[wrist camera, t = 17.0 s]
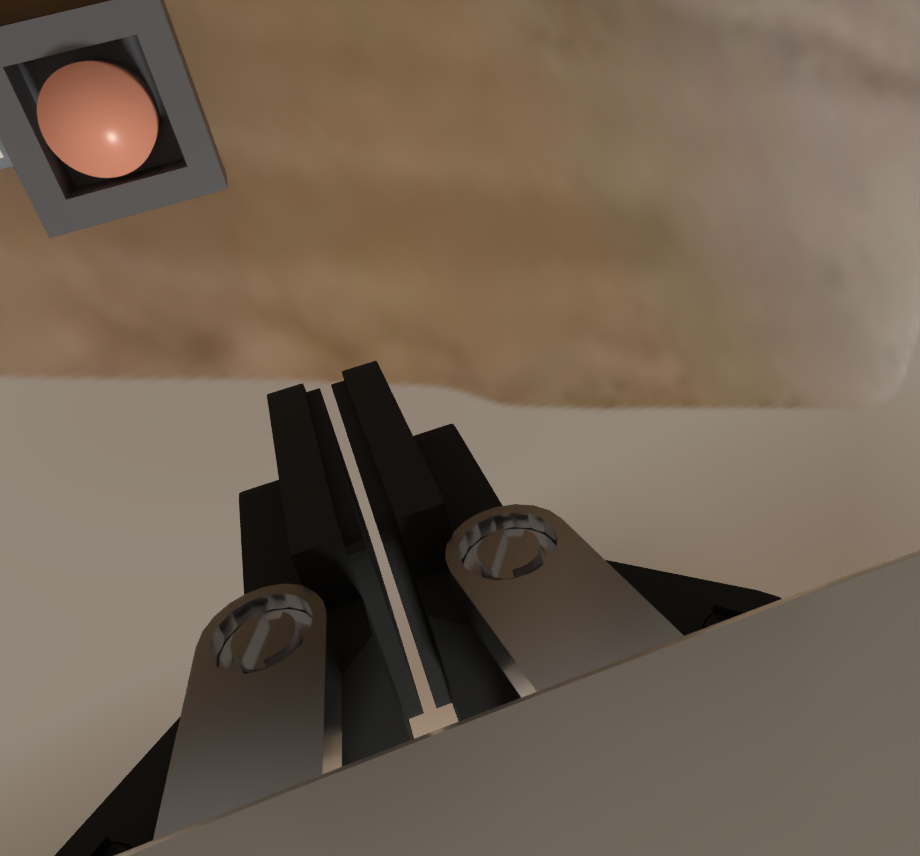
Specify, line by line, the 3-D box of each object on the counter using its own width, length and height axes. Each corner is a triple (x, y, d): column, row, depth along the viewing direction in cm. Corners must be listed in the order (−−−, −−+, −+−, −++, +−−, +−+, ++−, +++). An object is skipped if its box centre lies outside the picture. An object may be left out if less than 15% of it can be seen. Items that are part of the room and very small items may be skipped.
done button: (135, 47, 30) (128, 49, 27) (175, 150, 32) (172, 162, 29) (32, 72, 29) (15, 77, 27) (80, 176, 31) (68, 190, 29)
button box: (161, -8, 30) (155, -11, 27) (226, 174, 34) (227, 188, 31) (-25, 37, 29) (-51, 38, 26) (63, 218, 33) (49, 238, 30)
